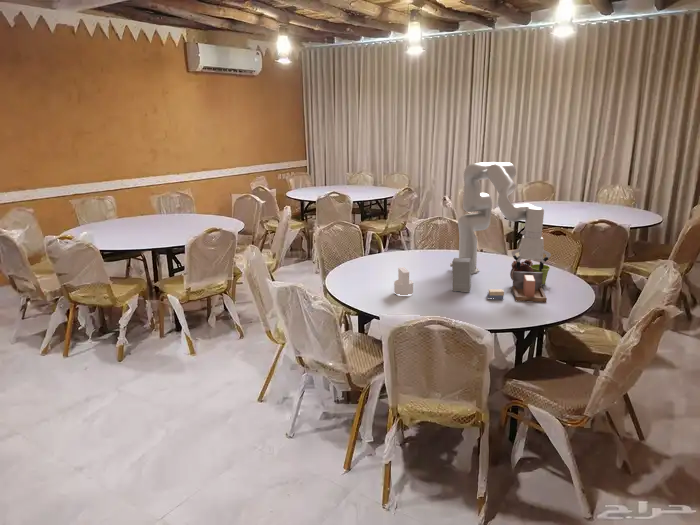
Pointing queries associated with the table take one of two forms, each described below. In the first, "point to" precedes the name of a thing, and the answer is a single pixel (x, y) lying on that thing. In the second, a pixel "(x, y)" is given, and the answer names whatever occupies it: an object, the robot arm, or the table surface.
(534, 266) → the plant pot
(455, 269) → the skincare box
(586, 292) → the table surface
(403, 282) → the cylinder with rectangular tab
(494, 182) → the robot arm
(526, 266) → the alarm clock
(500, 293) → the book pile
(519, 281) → the brown open box
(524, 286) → the salmon pink block
